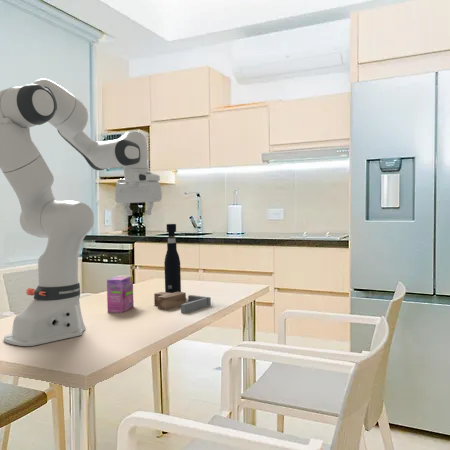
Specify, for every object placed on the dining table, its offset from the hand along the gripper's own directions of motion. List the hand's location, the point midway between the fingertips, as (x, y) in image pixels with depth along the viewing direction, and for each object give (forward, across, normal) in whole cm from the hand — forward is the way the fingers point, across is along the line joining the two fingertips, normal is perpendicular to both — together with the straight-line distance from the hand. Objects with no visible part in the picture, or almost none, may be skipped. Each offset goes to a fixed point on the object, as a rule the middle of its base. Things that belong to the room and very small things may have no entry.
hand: (138, 215), depth 166 cm
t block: (+34, +7, +5) cm, 35 cm away
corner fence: (+34, +17, +5) cm, 38 cm away
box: (+34, -4, -8) cm, 35 cm away
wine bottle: (+35, -1, +18) cm, 39 cm away
